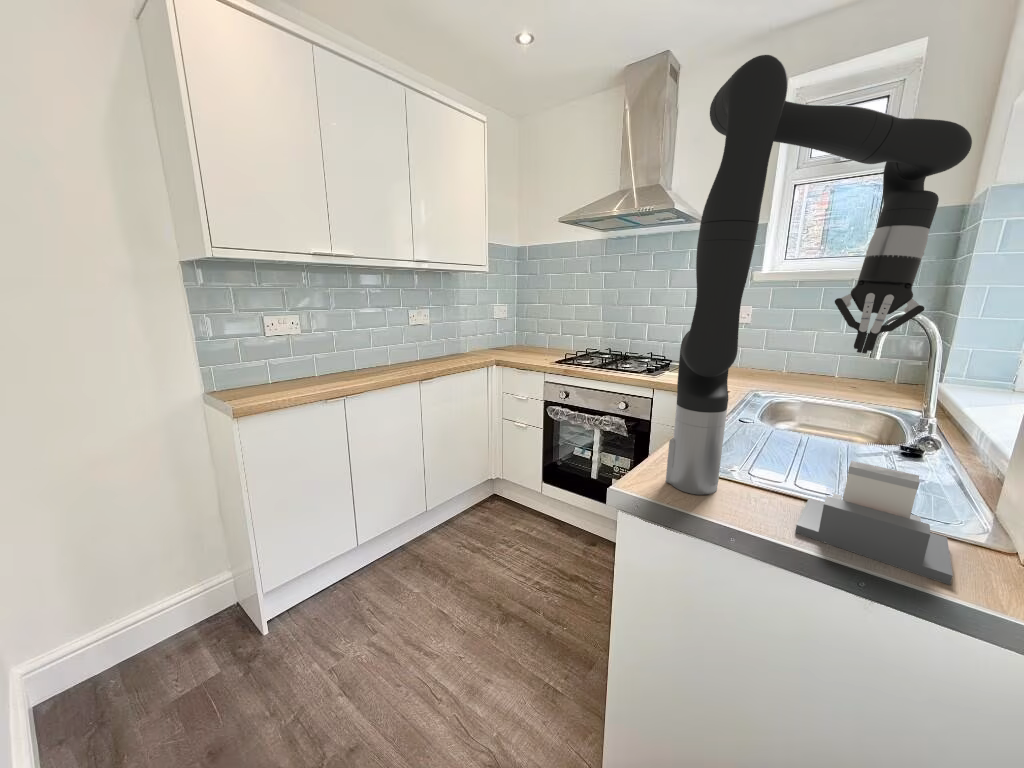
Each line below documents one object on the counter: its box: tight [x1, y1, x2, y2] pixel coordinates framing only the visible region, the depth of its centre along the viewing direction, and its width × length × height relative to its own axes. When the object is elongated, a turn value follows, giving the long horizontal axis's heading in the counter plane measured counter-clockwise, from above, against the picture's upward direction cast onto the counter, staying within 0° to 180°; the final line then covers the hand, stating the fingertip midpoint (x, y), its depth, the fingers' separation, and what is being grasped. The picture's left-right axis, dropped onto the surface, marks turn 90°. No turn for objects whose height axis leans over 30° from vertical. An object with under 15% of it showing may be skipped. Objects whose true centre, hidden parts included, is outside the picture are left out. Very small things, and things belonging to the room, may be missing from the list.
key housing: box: [794, 493, 954, 586], centre depth 66 cm, size 18×12×6 cm, turn 46°
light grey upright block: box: [842, 460, 920, 519], centre depth 65 cm, size 8×3×10 cm, turn 46°
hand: (861, 352), depth 76 cm, fingers closed
